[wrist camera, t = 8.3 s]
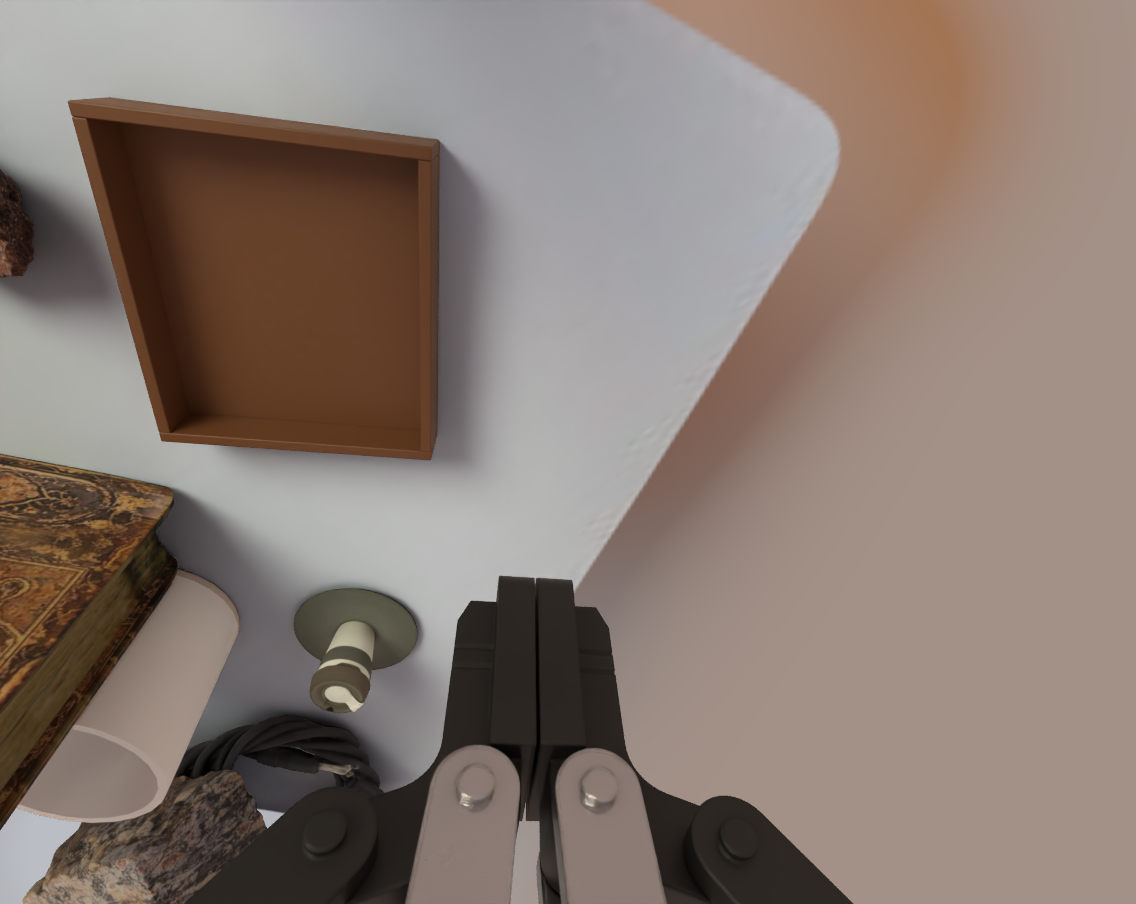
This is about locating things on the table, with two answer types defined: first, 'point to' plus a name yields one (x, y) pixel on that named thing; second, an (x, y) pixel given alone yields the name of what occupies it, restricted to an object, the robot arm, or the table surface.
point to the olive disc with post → (352, 643)
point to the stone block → (155, 847)
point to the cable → (287, 752)
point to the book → (68, 600)
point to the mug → (141, 712)
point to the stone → (13, 230)
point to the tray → (273, 275)
